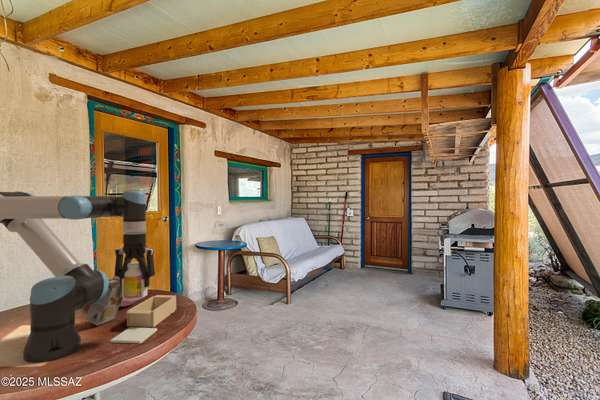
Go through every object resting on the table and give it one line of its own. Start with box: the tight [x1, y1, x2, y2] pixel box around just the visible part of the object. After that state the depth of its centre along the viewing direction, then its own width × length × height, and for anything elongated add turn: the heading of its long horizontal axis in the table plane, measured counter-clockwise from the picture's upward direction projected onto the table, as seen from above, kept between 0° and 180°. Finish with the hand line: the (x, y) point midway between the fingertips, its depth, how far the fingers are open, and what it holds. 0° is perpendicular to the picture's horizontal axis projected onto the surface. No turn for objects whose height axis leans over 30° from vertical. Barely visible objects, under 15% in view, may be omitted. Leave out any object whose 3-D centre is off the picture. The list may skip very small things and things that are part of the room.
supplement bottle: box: [124, 261, 145, 302], centre depth 117 cm, size 7×7×13 cm
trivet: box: [110, 326, 158, 344], centre depth 117 cm, size 11×11×1 cm
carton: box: [125, 294, 177, 328], centre depth 135 cm, size 11×23×6 cm, turn 176°
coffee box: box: [85, 278, 123, 326], centre depth 129 cm, size 9×6×16 cm
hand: (134, 295), depth 117 cm, fingers closed on supplement bottle, 7 cm apart
